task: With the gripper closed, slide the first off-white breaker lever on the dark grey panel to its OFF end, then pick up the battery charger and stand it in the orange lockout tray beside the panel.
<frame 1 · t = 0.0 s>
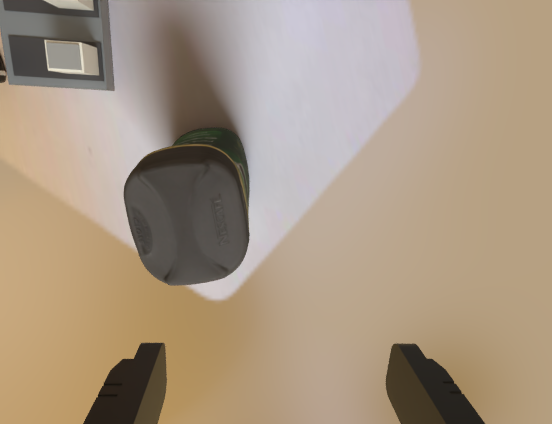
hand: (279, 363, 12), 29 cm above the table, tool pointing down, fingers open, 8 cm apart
breaker 2: (73, 58, 32), point 4 cm above the table, slide at 0.0 cm
coffee jar: (212, 171, 40), on the table
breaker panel: (61, 22, 34), on the table
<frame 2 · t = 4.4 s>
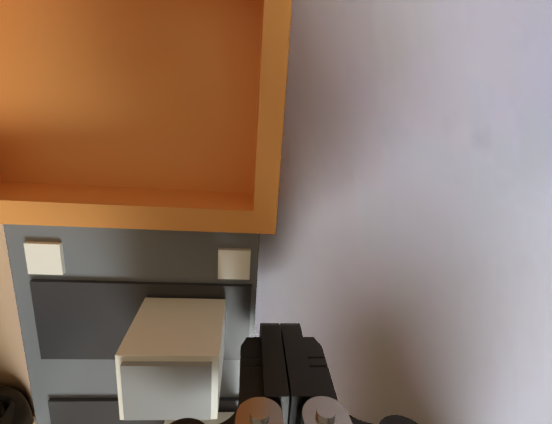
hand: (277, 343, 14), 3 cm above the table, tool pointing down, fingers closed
breaker 1: (177, 355, 12), point 4 cm above the table, slide at 0.7 cm, touching gripper
lockout tray: (131, 93, 13), on the table
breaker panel: (154, 332, 16), on the table
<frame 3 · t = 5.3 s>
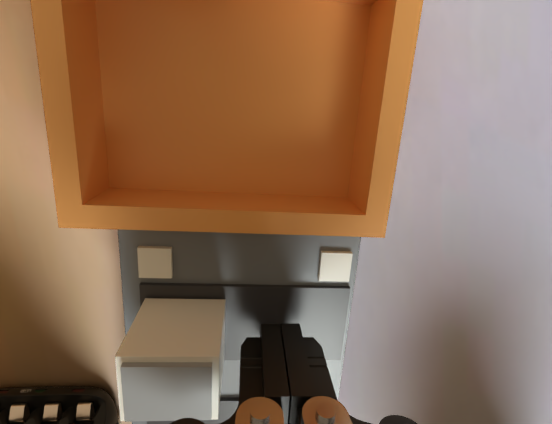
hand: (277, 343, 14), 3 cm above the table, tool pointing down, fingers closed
breaker 1: (178, 355, 12), point 4 cm above the table, slide at 4.6 cm, touching gripper
lockout tray: (234, 100, 14), on the table
battery charger: (52, 399, 17), on the table
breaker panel: (239, 333, 17), on the table
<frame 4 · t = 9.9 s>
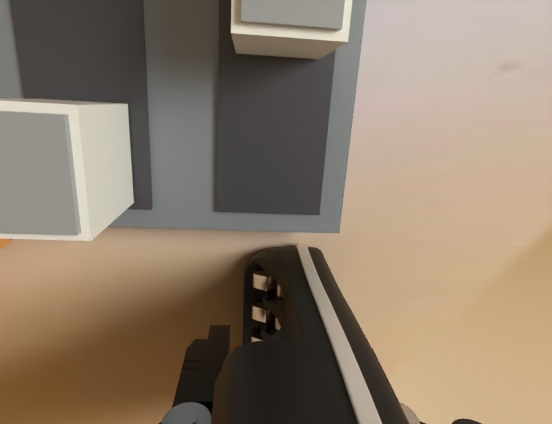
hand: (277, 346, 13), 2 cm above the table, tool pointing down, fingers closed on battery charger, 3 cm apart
breaker 1: (61, 162, 9), point 4 cm above the table, slide at 4.6 cm
battery charger: (271, 310, 16), on the table, touching gripper
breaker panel: (171, 88, 12), on the table
when the fingers open (4 cm above the table, at t = 15.1 s): battery charger moves 1 cm, resting on lockout tray.
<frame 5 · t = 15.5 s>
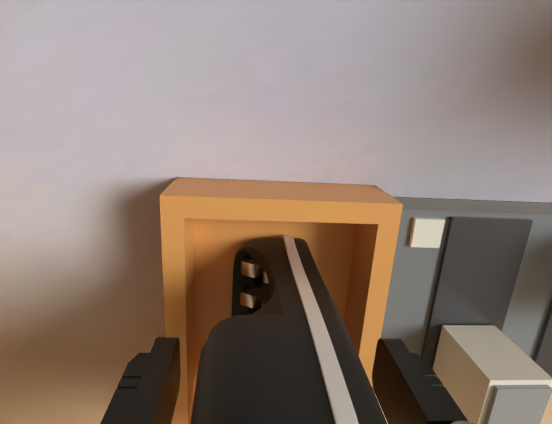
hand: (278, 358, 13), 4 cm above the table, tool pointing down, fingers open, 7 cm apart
breaker 1: (485, 382, 14), point 4 cm above the table, slide at 4.6 cm
lockout tray: (271, 294, 17), on the table
battery charger: (259, 297, 16), resting on lockout tray
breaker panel: (482, 288, 18), on the table
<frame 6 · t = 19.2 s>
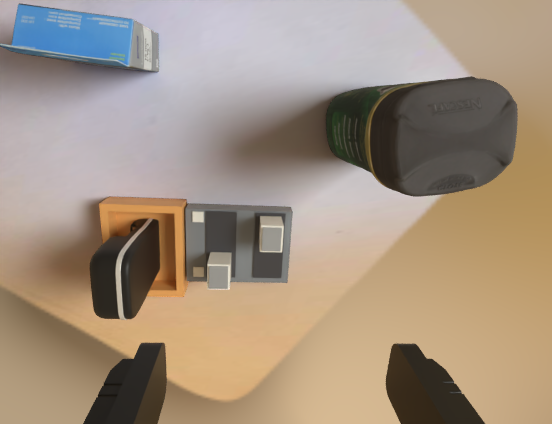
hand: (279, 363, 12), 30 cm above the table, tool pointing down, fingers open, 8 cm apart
breaker 1: (219, 270, 40), point 4 cm above the table, slide at 4.6 cm
lockout tray: (150, 242, 42), on the table
breaker 2: (270, 234, 39), point 4 cm above the table, slide at 0.0 cm
battery charger: (144, 243, 42), resting on lockout tray
coffee jar: (366, 124, 40), on the table
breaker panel: (239, 240, 43), on the table
label tape box: (116, 49, 36), on the table
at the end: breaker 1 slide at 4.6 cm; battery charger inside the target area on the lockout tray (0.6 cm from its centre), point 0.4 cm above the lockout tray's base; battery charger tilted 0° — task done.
